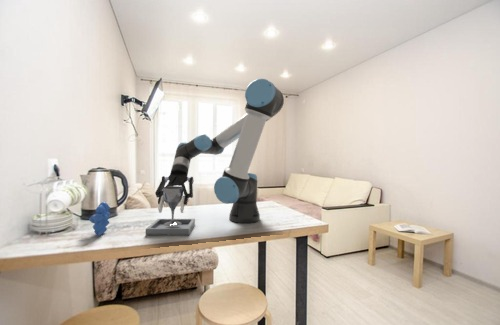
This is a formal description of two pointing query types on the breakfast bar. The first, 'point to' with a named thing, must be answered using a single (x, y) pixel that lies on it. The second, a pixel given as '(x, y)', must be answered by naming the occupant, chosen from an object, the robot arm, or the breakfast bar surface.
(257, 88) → the robot arm
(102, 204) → the grapes
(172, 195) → the wine glass
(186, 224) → the tray
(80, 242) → the breakfast bar surface
